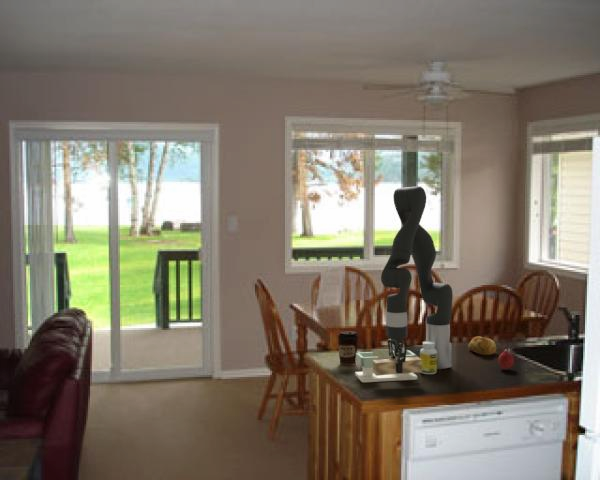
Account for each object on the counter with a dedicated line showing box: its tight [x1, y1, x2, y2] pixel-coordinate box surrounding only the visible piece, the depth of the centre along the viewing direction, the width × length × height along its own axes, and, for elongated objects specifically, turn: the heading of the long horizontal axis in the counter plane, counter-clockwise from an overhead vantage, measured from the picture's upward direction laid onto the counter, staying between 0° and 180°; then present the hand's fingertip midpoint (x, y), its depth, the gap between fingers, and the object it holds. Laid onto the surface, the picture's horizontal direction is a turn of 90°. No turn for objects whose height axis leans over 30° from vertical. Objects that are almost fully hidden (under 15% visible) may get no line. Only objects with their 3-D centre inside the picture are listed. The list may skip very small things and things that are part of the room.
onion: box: [497, 349, 515, 371], centre depth 252 cm, size 6×6×8 cm
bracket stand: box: [354, 349, 418, 383], centre depth 242 cm, size 21×10×9 cm, turn 100°
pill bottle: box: [419, 340, 438, 375], centre depth 248 cm, size 6×6×12 cm
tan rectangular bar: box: [373, 356, 422, 376], centre depth 231 cm, size 17×4×4 cm, turn 100°
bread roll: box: [467, 335, 497, 356], centre depth 280 cm, size 13×10×8 cm
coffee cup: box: [337, 330, 359, 366], centre depth 261 cm, size 9×8×13 cm
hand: (397, 371), depth 232 cm, fingers closed on tan rectangular bar, 4 cm apart
